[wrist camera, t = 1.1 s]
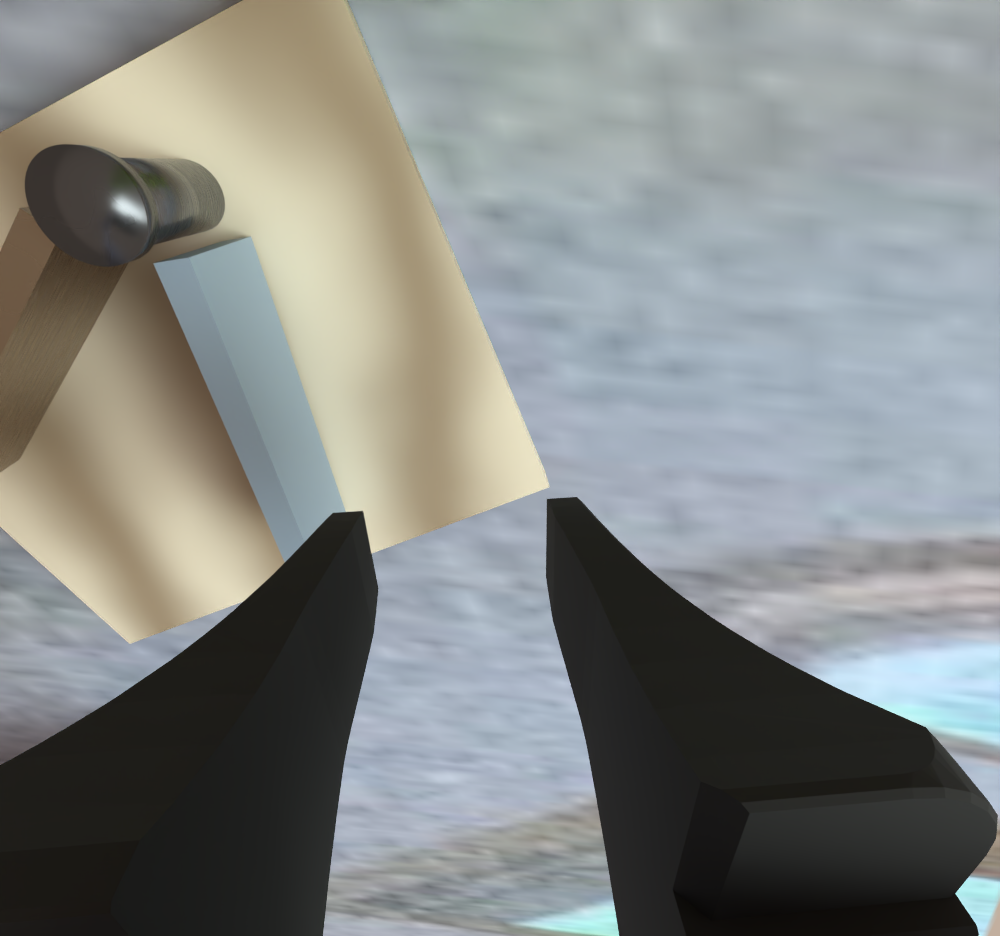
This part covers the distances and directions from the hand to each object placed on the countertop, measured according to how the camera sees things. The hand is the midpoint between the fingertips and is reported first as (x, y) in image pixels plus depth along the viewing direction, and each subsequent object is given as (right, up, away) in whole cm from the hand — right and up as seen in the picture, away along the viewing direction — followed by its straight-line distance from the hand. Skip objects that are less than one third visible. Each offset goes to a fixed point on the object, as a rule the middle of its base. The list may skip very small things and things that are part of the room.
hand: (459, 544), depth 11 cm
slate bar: (-6, +4, +7) cm, 10 cm away
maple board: (-9, +4, +8) cm, 13 cm away
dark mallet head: (-11, +6, +5) cm, 14 cm away
